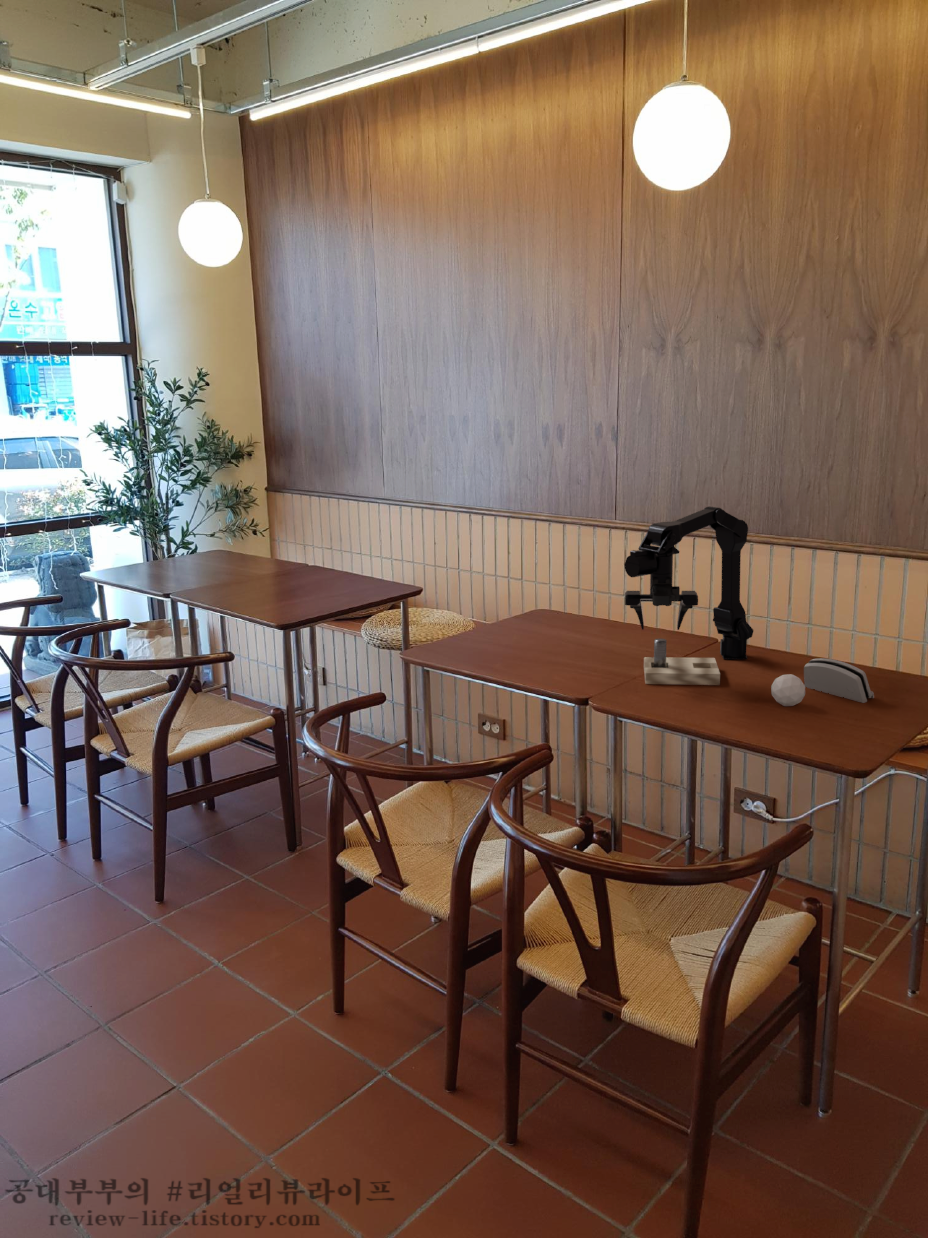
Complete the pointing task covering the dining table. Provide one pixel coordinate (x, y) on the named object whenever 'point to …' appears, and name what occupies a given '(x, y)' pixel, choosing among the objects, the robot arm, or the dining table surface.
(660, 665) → the pin
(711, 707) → the dining table surface
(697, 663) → the dock board
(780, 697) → the geometric ball
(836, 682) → the grey napkin holder
